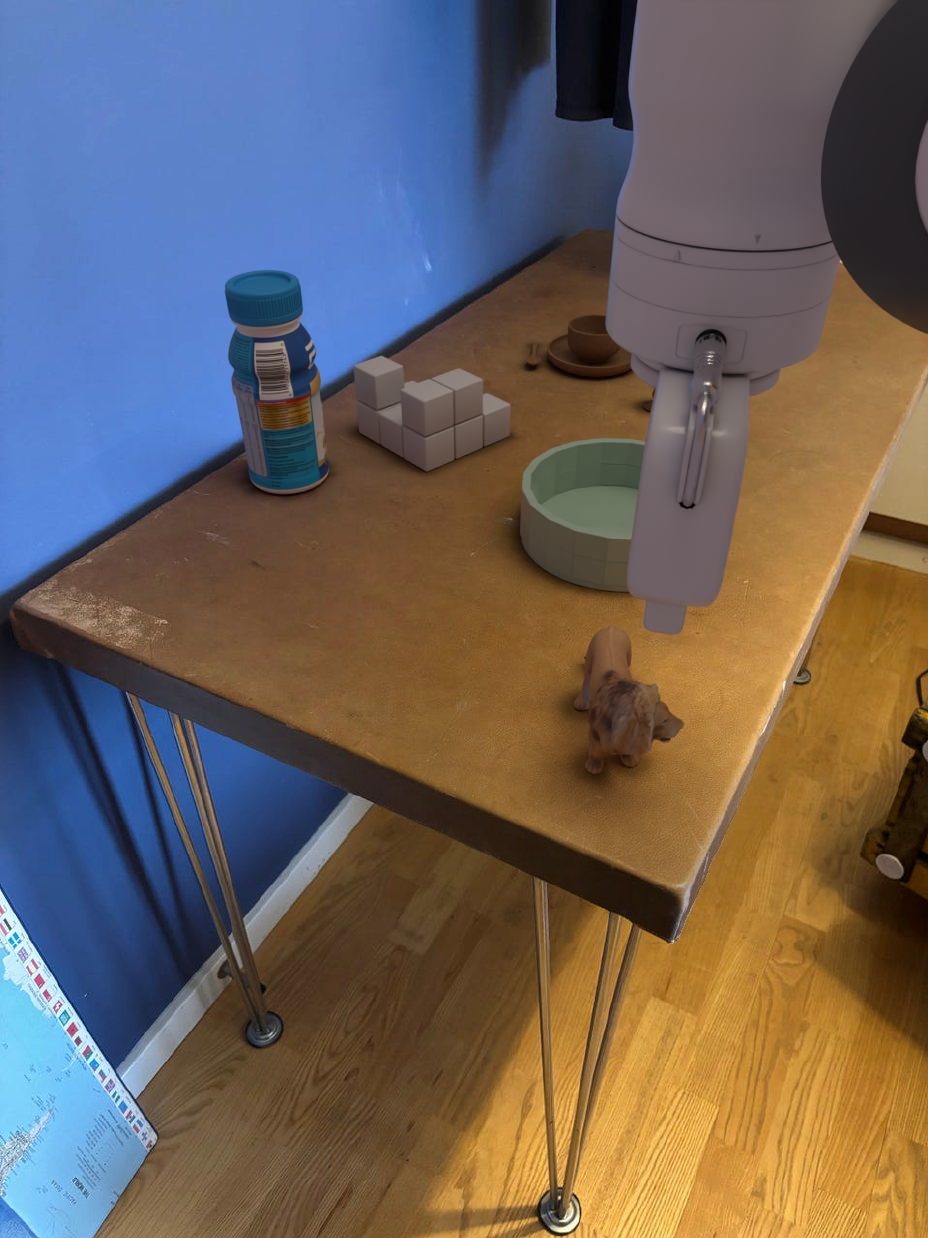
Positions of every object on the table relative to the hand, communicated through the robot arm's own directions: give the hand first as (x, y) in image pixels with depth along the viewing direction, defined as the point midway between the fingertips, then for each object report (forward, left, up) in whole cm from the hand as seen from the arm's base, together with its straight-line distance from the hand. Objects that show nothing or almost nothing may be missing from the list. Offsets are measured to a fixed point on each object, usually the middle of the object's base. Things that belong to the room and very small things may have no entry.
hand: (670, 566), depth 46 cm
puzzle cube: (+34, -44, -21) cm, 60 cm away
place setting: (+22, -66, -21) cm, 73 cm away
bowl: (+10, -32, -21) cm, 40 cm away
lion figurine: (+3, -7, -21) cm, 22 cm away
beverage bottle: (+44, -30, -21) cm, 57 cm away
